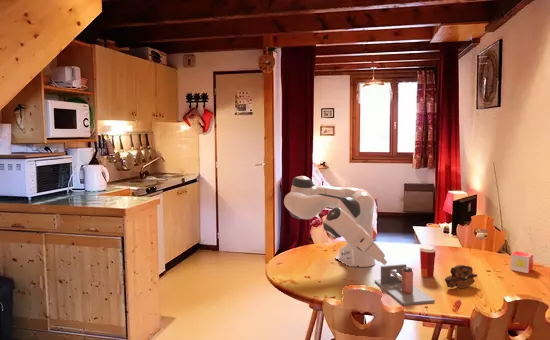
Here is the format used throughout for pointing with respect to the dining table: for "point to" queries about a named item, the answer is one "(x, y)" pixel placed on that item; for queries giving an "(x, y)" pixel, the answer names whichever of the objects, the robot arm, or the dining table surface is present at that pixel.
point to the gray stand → (400, 287)
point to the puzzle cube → (521, 262)
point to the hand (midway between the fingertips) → (380, 259)
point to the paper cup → (427, 260)
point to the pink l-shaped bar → (405, 279)
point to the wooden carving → (460, 277)
